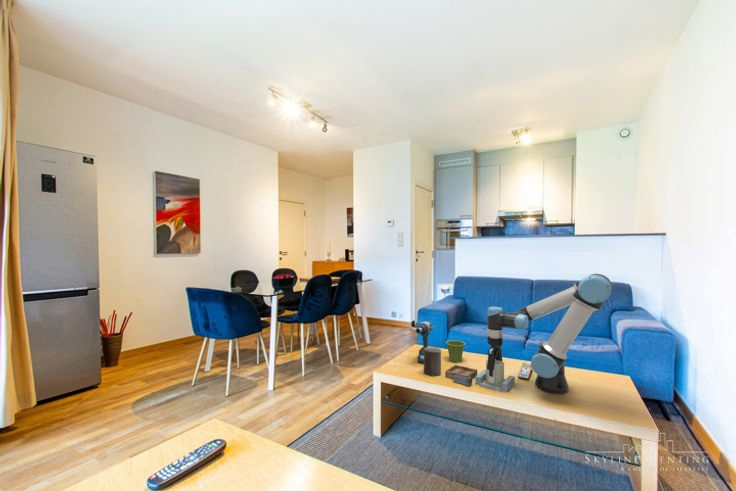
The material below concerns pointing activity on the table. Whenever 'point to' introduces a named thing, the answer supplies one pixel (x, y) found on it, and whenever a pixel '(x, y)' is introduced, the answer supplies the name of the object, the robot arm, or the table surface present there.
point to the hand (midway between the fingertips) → (494, 379)
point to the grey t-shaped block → (462, 380)
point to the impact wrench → (424, 337)
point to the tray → (460, 372)
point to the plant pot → (455, 350)
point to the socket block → (505, 386)
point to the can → (496, 373)
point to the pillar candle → (432, 361)
